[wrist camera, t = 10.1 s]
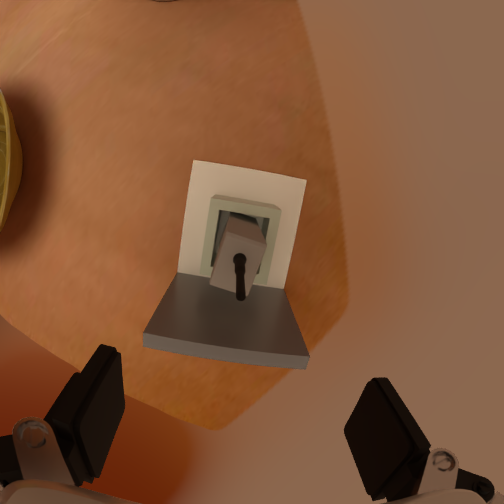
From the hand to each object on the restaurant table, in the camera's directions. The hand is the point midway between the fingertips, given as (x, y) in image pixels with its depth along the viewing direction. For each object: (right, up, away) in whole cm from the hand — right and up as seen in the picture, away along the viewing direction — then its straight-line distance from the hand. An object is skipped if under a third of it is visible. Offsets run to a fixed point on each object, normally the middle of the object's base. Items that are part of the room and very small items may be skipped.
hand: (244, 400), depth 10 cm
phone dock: (-2, +8, +34) cm, 35 cm away
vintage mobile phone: (-2, +8, +33) cm, 34 cm away
